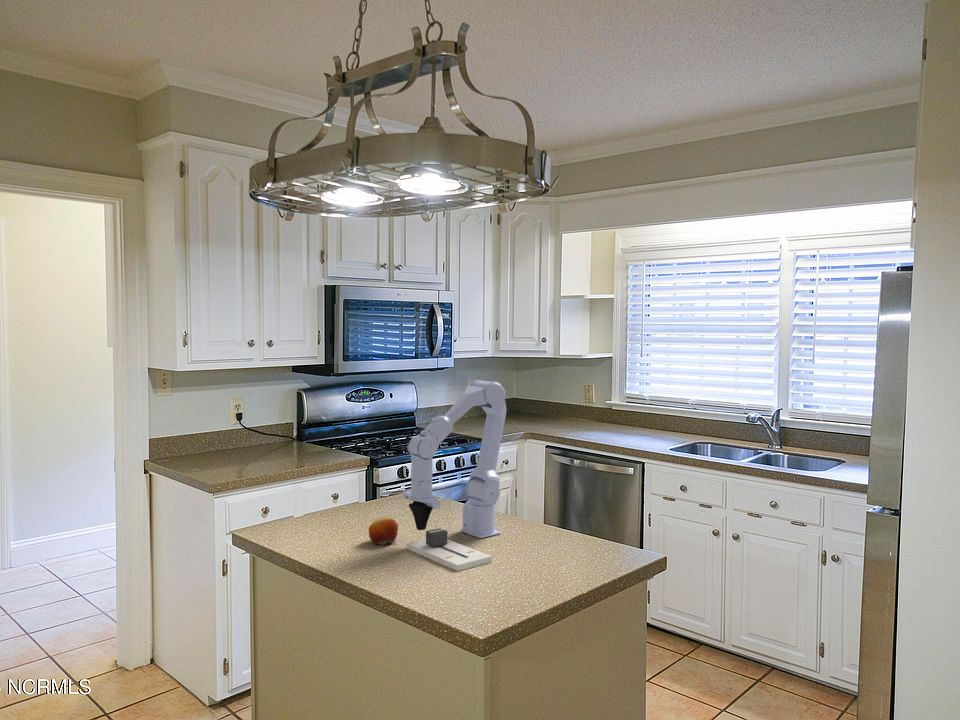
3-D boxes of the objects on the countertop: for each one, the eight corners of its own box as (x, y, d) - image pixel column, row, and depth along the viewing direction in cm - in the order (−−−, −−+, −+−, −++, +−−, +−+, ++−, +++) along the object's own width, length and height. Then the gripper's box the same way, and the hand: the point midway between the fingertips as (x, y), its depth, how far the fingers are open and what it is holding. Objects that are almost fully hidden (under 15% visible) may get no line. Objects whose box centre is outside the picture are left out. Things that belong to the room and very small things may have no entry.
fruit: (383, 545, 194) (374, 516, 197) (369, 554, 199) (361, 526, 202) (408, 539, 199) (399, 511, 202) (394, 548, 205) (385, 521, 207)
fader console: (406, 549, 195) (406, 543, 195) (439, 541, 202) (439, 536, 202) (457, 571, 178) (457, 564, 178) (491, 562, 185) (491, 555, 185)
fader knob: (425, 544, 194) (426, 530, 194) (439, 541, 197) (439, 527, 197) (433, 547, 191) (433, 533, 191) (447, 544, 194) (447, 530, 194)
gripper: (394, 477, 202) (394, 525, 202) (425, 486, 191) (424, 538, 191) (415, 474, 206) (415, 521, 207) (446, 483, 195) (446, 533, 196)
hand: (421, 529), depth 199 cm, fingers closed
